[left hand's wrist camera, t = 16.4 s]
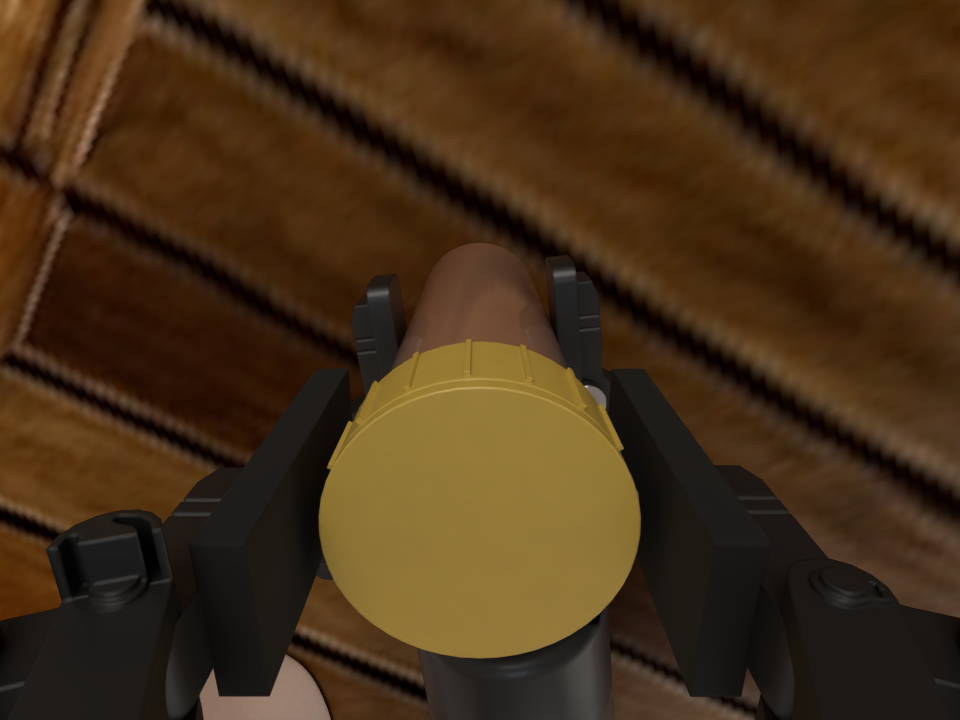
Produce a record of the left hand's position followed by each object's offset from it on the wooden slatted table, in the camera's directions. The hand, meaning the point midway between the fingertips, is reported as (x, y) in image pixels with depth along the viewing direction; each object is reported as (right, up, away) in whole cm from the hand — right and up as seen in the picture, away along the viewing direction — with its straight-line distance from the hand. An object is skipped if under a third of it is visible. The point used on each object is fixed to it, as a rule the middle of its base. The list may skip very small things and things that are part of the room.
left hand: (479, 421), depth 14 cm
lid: (0, -1, -4) cm, 4 cm away
